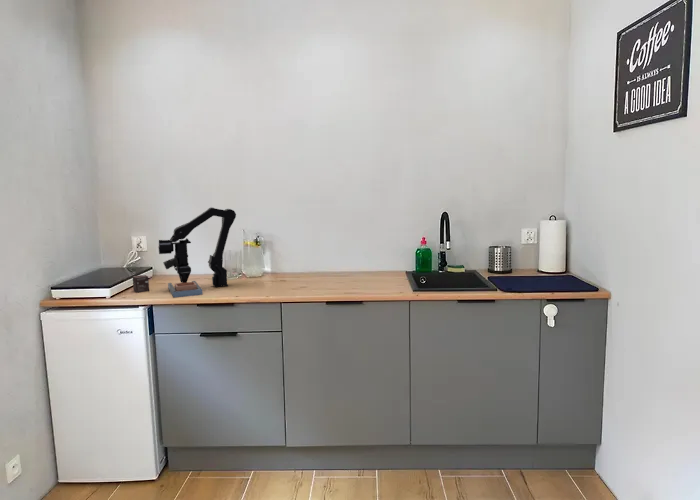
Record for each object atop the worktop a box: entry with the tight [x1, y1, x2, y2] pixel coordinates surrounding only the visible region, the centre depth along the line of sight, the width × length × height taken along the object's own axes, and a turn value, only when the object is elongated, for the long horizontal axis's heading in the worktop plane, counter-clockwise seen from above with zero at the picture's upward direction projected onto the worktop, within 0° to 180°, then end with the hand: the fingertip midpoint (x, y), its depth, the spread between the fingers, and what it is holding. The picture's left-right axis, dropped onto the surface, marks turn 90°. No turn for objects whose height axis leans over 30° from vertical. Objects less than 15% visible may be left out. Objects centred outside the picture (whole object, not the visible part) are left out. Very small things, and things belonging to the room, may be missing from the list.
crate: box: [174, 281, 197, 291], centre depth 245 cm, size 9×8×4 cm
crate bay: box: [167, 280, 203, 298], centre depth 249 cm, size 13×23×2 cm, turn 25°
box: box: [132, 274, 150, 293], centre depth 250 cm, size 6×6×7 cm
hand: (183, 284), depth 253 cm, fingers open, 9 cm apart
